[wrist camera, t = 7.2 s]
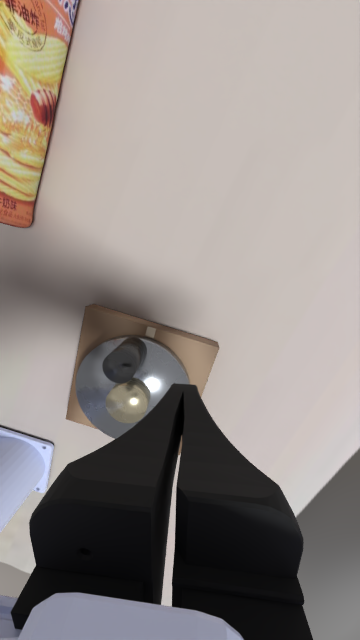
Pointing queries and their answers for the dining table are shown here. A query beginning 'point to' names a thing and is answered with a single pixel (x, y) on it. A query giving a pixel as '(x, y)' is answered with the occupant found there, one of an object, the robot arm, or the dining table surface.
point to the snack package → (28, 96)
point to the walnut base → (112, 323)
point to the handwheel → (126, 381)
